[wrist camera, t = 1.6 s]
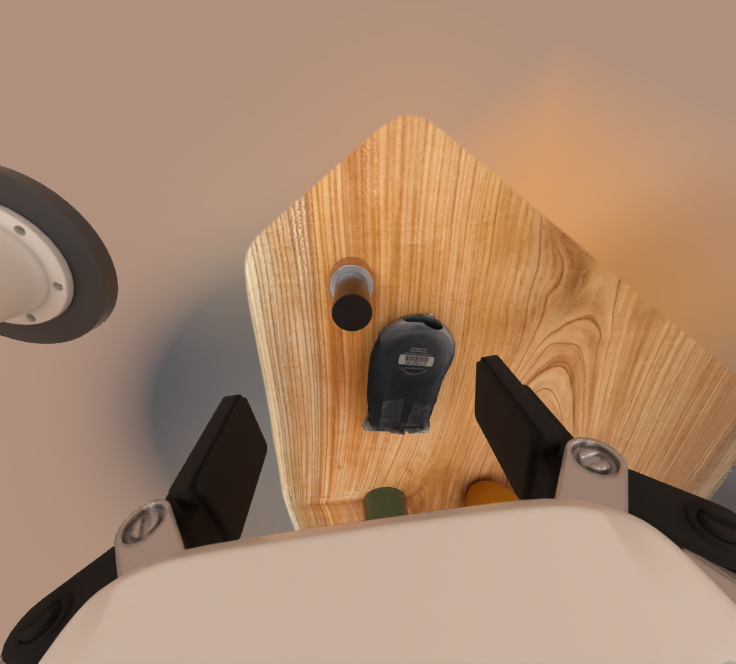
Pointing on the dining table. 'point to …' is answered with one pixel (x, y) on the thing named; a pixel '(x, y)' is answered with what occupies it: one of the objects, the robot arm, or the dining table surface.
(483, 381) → the robot arm
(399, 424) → the electronic device
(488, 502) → the apple
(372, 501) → the bottle
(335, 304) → the torch
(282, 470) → the dining table surface
